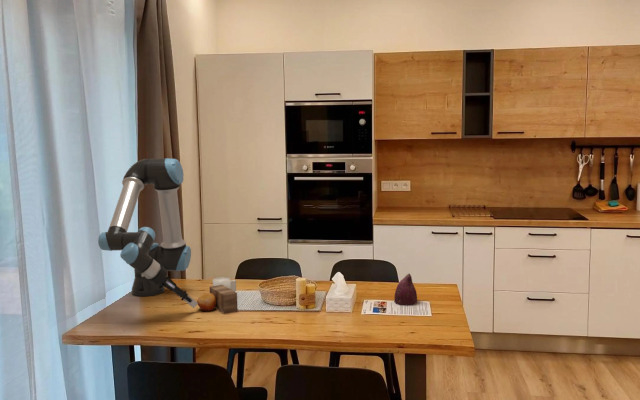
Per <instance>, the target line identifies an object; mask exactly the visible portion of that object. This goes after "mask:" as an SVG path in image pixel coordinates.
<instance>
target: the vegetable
mask: <svg viewBox="0 0 640 400" xmlns="http://www.w3.org/2000/svg"><path fill="white" fill-rule="evenodd" d="M417 295H418V294H417V290H416V288H415V285H414V282H413V278H412V275H411V274H410V273H407V274H406V275H405V276H404V277H403V278H402V279H401V280H400V281H399V282H398V284H397V286H396V288H395V292H394V299H393V300H394V303H395V305H397V306H414V305H416V304H417V303H418V296H417Z"/></svg>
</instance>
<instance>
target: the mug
mask: <svg viewBox="0 0 640 400" xmlns="http://www.w3.org/2000/svg"><path fill="white" fill-rule="evenodd" d="M217 285H224V286H225V287H227V288H229V289H231V290H233V291H235V292H237V280H236V279H232V280H231V278H230V277H228V276H227V277H226V276H220V277H215V278H213V279H212V286H217Z"/></svg>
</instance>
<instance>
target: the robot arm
mask: <svg viewBox="0 0 640 400" xmlns="http://www.w3.org/2000/svg"><path fill="white" fill-rule="evenodd" d="M182 166H183V165H182V164H181V162H180V161H179V160H178V159H176V158H168V157H167V158H166V157H165V158H163V157H161V158H143V159H140V160H139V161H137V162H135V163H133V164H132V165H131V166H130V168H128V170H127V171H125V172H126V173H125V174H124V176H123V179H122V181H121V183H122V189H121V192H120V195H119V198H118V200H117V202H116V203H117V204H116V206H115V209H114V213H113V215H112V219H111V221H110V225H109V227H108V229H107V231H104V232H101V233H100V234H99V235H98V238H97V241H98V242H97V243H98V246H99V248H100V250H102V251H109V252H113V251H120V256H119V257H120V258H121V259H122V260H123V261H124V262H125V263H126V264H127V265H129V266H130V267H131V268H133V269H134V271H133V272H134V279H133V284H132V287H131V294H132V296H136V297H149V296H157V295H160V294H163V293H164V292H165V288H166V289H168V290H169V291H171V292H173V293H174V294H175V295H177V296H178V297H179V298H180V300H181V301H184V302H186V303H187V304H188V305H189V306H190V307H192V308H193V309H195V308H196V307H197V306H198V303H197V300H195V299H194V298H193V297H192V296H190V295H189V294H188V293H187V291H186V290H183V289H182V288H180V287H179V286H178V285H177V283H175V282H174V281H173V279H172V278H170V277H169V276H168V273H169V272H180V271H182V272H184V271H186V270H187V269H188V268H189V265H190V263H191V258H192V249H191V246H188V245H187V243H186V241H185V239H183V236H182V235H183V234H182V226H181V217H180V205H179V197H178V196H179V195H178V190H179V189H180V187H181V184H183V182H184V171H183V170H184V169H183V167H182ZM146 185H153V189H154V190H155V191H156V192H157V194H158V203H159V204H158V206H159V214H160V221H161V231H162V242H161V243H160V244H159V243H158V242H155V239H156V232H155V230H154V229H153V228H151V227H150V226H149V227H148V226H142V227H140V228H139V229H138V230H137V231H136V232H135V231H134V232H133V231H132V232H131V231H128V230H129V226H130V224H131V221H132V218H133V216H134V212H135V208H136V205H137V202H138V199H139V197H140V196H139V195H140V193H141V191H143V190H144V189H145V186H146Z"/></svg>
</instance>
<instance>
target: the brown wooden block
mask: <svg viewBox="0 0 640 400" xmlns="http://www.w3.org/2000/svg"><path fill="white" fill-rule="evenodd" d="M209 293H212V294H213V295H214V296H215V298H216V306H215V309H217V310H218V311H219V312H221V313H223V314H231V313H235V312H238V309H239V308H238V293H237V291H233V290H231V289H229V288H227V287H225V286H224V285H217V286H213V285H211V286H209Z"/></svg>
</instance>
